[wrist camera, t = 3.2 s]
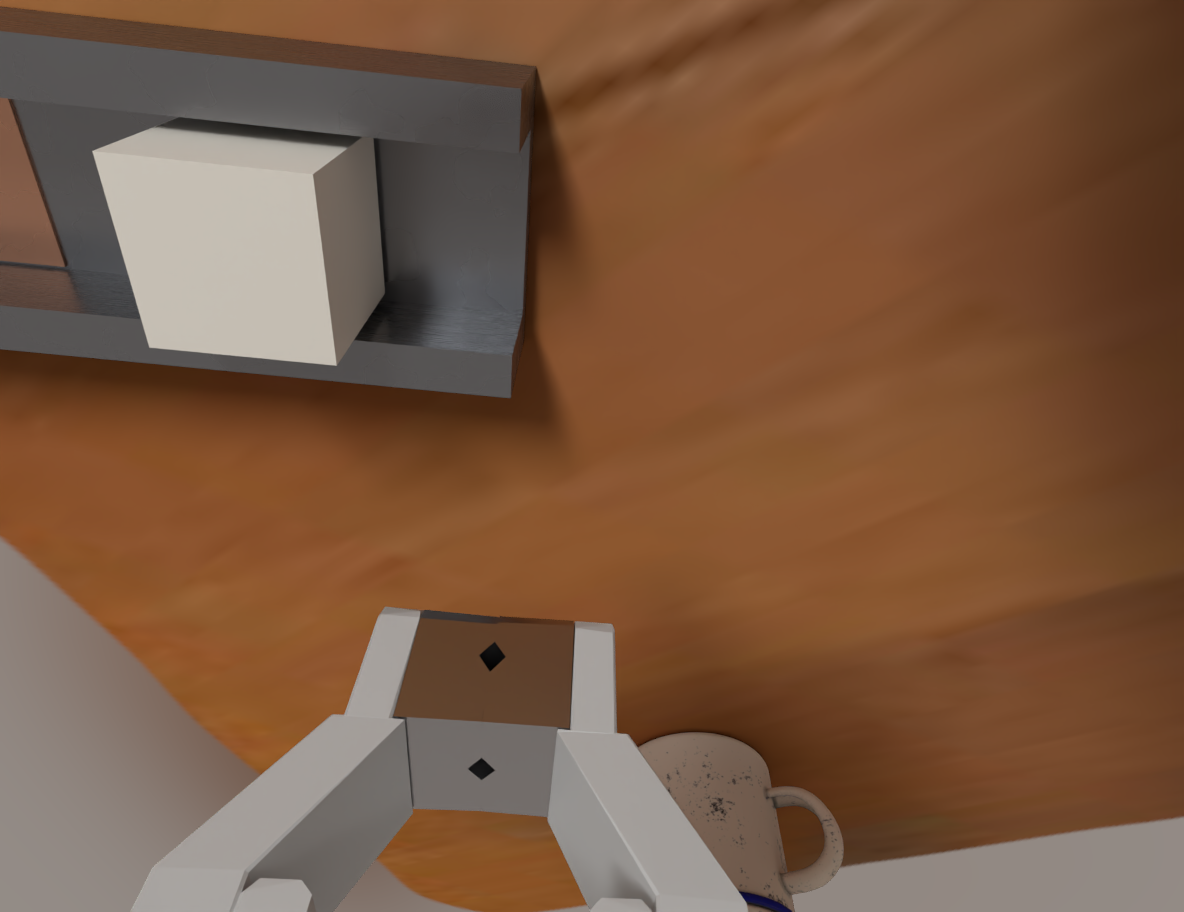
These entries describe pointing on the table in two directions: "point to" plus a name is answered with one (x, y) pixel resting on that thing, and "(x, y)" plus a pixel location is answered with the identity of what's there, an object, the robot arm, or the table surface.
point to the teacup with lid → (742, 815)
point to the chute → (283, 100)
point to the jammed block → (247, 237)
